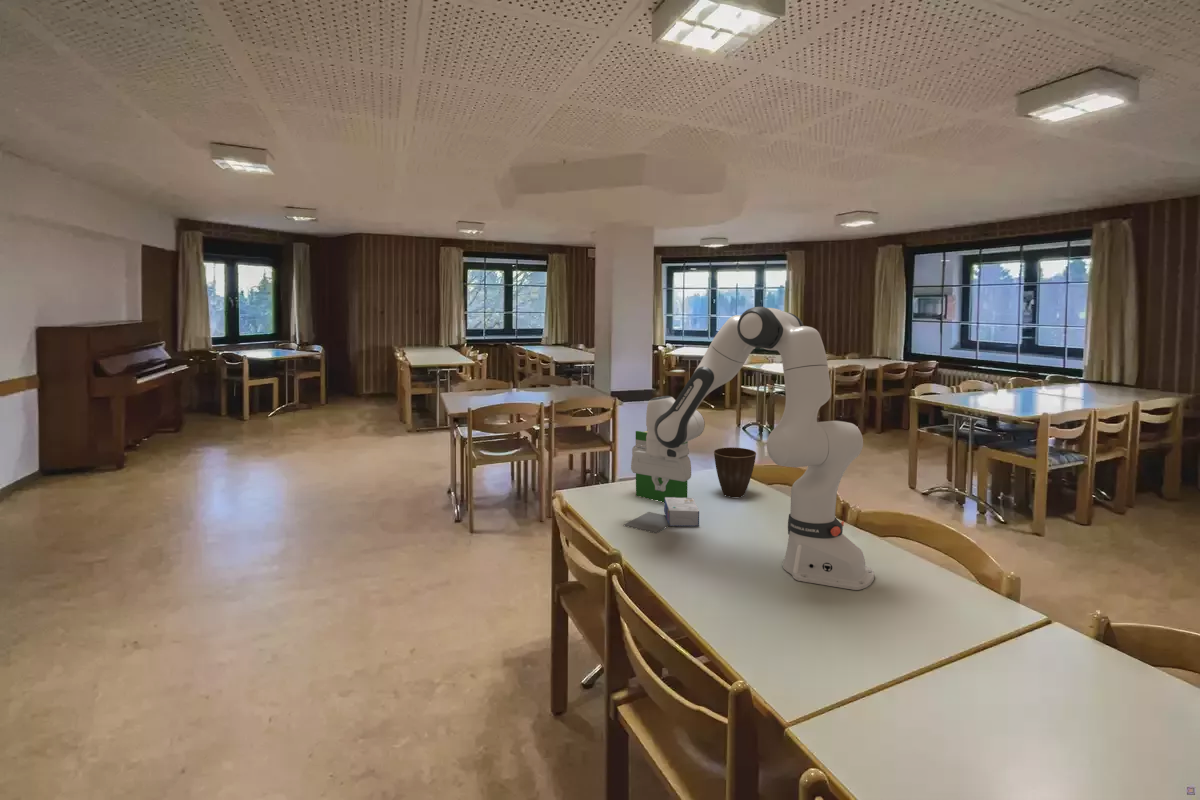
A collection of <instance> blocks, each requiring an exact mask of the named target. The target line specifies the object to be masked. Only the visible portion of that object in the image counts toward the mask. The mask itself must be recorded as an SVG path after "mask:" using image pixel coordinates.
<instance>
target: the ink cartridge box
mask: <svg viewBox="0 0 1200 800" xmlns="http://www.w3.org/2000/svg"><path fill="white" fill-rule="evenodd" d="M663 506H664V509H663V511H664V515H666V518H667V521H668V524H669V526H668V527H699V526H700V510H699V507H698V506H697V503H696V501H695V499H694V497H687V498H675V497H673V498H672V497H665V501H664V503H663Z"/></svg>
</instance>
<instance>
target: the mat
mask: <svg viewBox="0 0 1200 800" xmlns="http://www.w3.org/2000/svg"><path fill="white" fill-rule="evenodd" d="M624 525H625V526H624ZM668 525H669V524H668V521H667V518H666V515H665V514H662V513H661V514H660V513H656V512H651V511H647V512H645V513H644V514H641V515H640V516H638V517H636V518H633V519H631V520H630V521H628V522H626V523H624V524H623V526H624V527H627V526H629V527H628V528H631V527H633V528H632V529H635V528H637V529H636V530H640V529H641V530H642V531H644V530H646V531H645V532H648V531H650V533H653V532H654V533H653V534H657V532H658V533H660V532H661V531H663V530H665V529H666V528H668V527H669V526H668ZM667 526H668V527H667ZM665 527H666V528H665ZM664 528H665V529H664ZM662 529H663V530H662ZM641 530H640V531H641ZM660 530H661V531H660Z"/></svg>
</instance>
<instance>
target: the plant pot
mask: <svg viewBox="0 0 1200 800" xmlns="http://www.w3.org/2000/svg"><path fill="white" fill-rule="evenodd" d="M713 455H714V463H715V470H716V475H717V479H718V482H719V485H720V489H721V491H722V495H723V496H725V495H726V496H725V497H727V496H730V497H729V498H732V497H739V498H742V497H741V496H743V495H744V496H745V494H746V492H747V489H748V487H749V484H750V481H751V478H752V475H753V471H754V467H755V464H756V458H757V452H756V451H755V450H753V449H749V448H745V447H734V446H733V447H720V448H716V449H714V451H713ZM744 496H743V497H744Z"/></svg>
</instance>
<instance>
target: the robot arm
mask: <svg viewBox="0 0 1200 800" xmlns="http://www.w3.org/2000/svg"><path fill="white" fill-rule="evenodd" d="M757 348H759V349H760V348H761V349H764V350H766V351H776V352H778V353H779V354H780V357H781V361H782V369H783V370H782V371H783V378H784V379H783V380H784V389H785V404H784V411H783V412H782V416H781V418H780V421H779V422H778V424H777V425H776V426H775V427H774V428H773V429H772V430H771V432H770V433H769V435H768V437H767V441H766V450H767V453H768V455H769V458H770V459H771V460H772V462H773V463H774V464H775V465H776V466H780V467H781V466H782V467H787V468H789V467H790V468H802V467H803V468H804V467H807V468H806V470H805V471H804V473H803V474H802V475H801V476H800V477H799V478H798V479H796V480H795V481H794V483H792V486H791V488H790V489H791V490H790V512H789V514H788V520H787V534H788V538H787V539H788V541H787V546H786V549H785V550H786V551H785V556H784V559H783V561H782V564H781V566H782V568H783V570H785V571H786V572H787V573H789V574H790V575H791V576H792V577H793V579H794V580H796V581H799V582H804V583H810V584H811V583H812V584H817V585H821V586H829V587H835V588H839V589H840V588H841V589H848V590H853V591H861V590H863V589H866V588H868V587H870V586H871V584H872V583H873V582H874V579H875V571H874V570H873V568H871V567H868V566H866V562H865V561H866V559H865V556H864V552H863V551H862V549H861V548H860V547H859V546H857V545H856V544H855V543H854V542H852V541H851V540H850V539H849V538H848V537H847V536H846V535H844V534H843V530H844V529H843V528H844V524H845V521H844V520H842V521H840V520H839V519H837V518H836V508H837V507H836V506H837V497H838V490H839V485H840V482H841V480H842V478H843V476H844V473H845V472H846V471H847V469H848V467H849V465H850V464H851V463H853V461H854V460H855V459H857V458H858V457H859V456H860V454H861V452H862V450H863V447H864V439H863V438H864V437H863V434H862V432H861V430H860V428H859V427H858V426H857V425H856V424H854V423H852V422H847V421H842V420H828V421H826V420H825V421H818V414H819V410H820V409H821V407H822V406H824V405H825V404H826V403H827V402H828V401H829V400H830V398H831V397H832V387H831V379H830V370H829V364H828V359H827V358H828V357H827V354H826V353H827V352H826V350H825V349H826V348H825V346H824V343H823V340H822V337H821V334H820V332H819V331H818V330H817V329H816V328H814V327H812V326H807V325H804V323H803V321H802V319H800V318H799V316H797V315H795V314H793V313H792V312H787V311H784V310H781V309H779V308H774V307H766V306H755V307H754V306H753V307H751V308H748V309H746V310H744V312H743V313H741V315H739V314H736V315H732V316H731V317H729V318H728V319H727V320H726V321H725V323H724V324H723V325H722V326H721V328H719V329H718V332H717V333H716V334H715V336H714V337H713V338H712V341H711V343H710V344H709V346H708V348H707V350H706V351H705V353H704V355H703V357H702V358H701V360H700V362H699V363H698V366H697V367H696V368H695V370H694V371H693V373H692V375H691V377H690V378H689V380H688V381H687V382H686V384H685V385H684V387H683V389H682V390H681V391H680V393H679V394H678V396H677V398H676V399H675V398H674V397H673V396H671V395H663V396H657V397H653V398H650V400H649V401H648V403H647V406H646V413H645V414H646V417H645V419H646V420H645V424H646V431H647V436H646V445H639V444H637V445H636V444H635V445H634V446H633V447H632V449H631V454H632V456H631V461H630V470H631V472H632V473H634V474H636V473H637V474H643V475H649V476H652V481H653V483H654V485H655V490H658V491H663V492H664V491H665V490H666V484H667V483H668V481H669V479H671V480H677V481H683V482H685V481H687V482H688V481H689V480H690V479H691V478H692V463H691V459H690V457H689V456H687V455H689V454H690V448H689V447H688V448H687V447H685V446H683V445H681V444H683V443H685V442H688V443H689V442H690V441H692V440H695V439H696V438H698V437H700V436H701V435H702V434H703V433H704V431H705V427H706V425H705V424H706V423H705V419H704V416H703V414H702V413H701V412H700V411H698V410H697V409H698V408H699V406H700V405H701V404H702V403H703V401H704V399H706V397H707V396H708V395H709V394H710V393H712V392H713V391H714V390H716V389H718V388H719V387H721V386H723V385H725V384H727V383H728V382H730V381H732V380H733V378H735V377H736V375H737V374H739V372H740V371H741V369H742V367H743V366H744V364H745V363H746V361H747V360H748V358H749V356H750V355H751V353H752V352H753V351H754V350H755V349H757ZM659 477H660V478H662V481H663V483H662V484H659V481H658V478H659Z"/></svg>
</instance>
